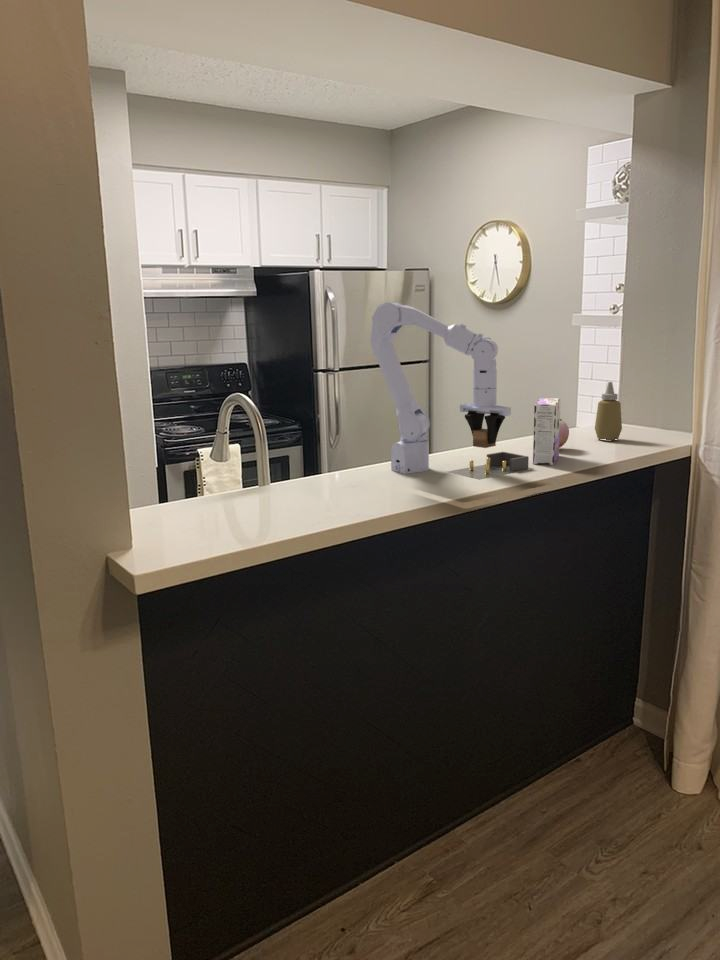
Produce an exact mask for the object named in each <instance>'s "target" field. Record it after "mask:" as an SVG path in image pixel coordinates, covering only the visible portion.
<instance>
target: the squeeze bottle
mask: <svg viewBox="0 0 720 960" xmlns="http://www.w3.org/2000/svg"><path fill="white" fill-rule="evenodd" d="M621 404H622V403H621V402H620V401H619V400H618V393H615V390H614V385H613V382H612V381H608V383H607V384H606V389H605V393H601V400H600V401H598V404H597V411H596V415H595V423H594V424H595V425H594V430H595V435H596V439H598V438H599V439H606V440H615V439H618V440H619V437H620V435H621V432H622V430H623V424H622V422H623V421H622V408H621V407H622V406H621Z"/></svg>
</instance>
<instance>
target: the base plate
mask: <svg viewBox="0 0 720 960" xmlns="http://www.w3.org/2000/svg"><path fill="white" fill-rule="evenodd" d="M474 463H475V462H474V460H469V467H466V468H459V469H455V470H448V471H446V473H451V474H455V475H458V476H463V477H467V478H471V479H475V480H484V479H489V478H494V477H499V476H504V475H509V474H514V473H519V472H520V473H521V472H524V471H525V472H526V471H531V470H534V469H535V468H534V467H529V466H528V468H526V469H521V470H516V471H510V465H507V464H506V461H502V464H498V465H492V466H490V458H487V457H486V461H485V464H483V465H477V466H474Z"/></svg>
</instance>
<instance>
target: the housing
mask: <svg viewBox="0 0 720 960" xmlns="http://www.w3.org/2000/svg"><path fill="white" fill-rule="evenodd" d="M487 458H490V466H492V465H498V464H502V461H506V464H507V465H510V471H516V470H521V469H526V468H528V467H529V456H528V455H522V454H517V453H512V452H506V451H499V452H494V453H487V454H486V459H487Z"/></svg>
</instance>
